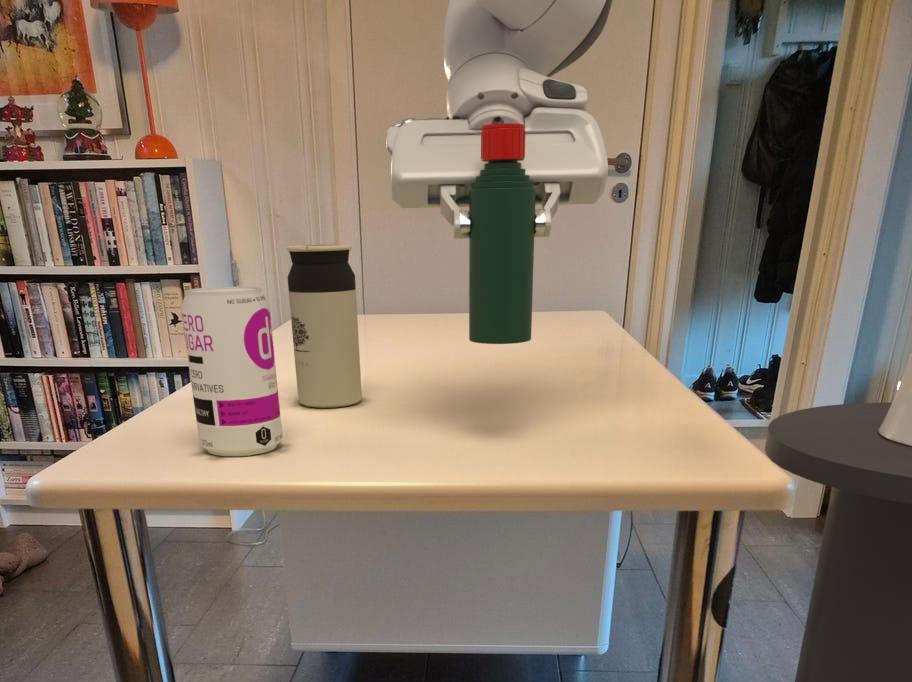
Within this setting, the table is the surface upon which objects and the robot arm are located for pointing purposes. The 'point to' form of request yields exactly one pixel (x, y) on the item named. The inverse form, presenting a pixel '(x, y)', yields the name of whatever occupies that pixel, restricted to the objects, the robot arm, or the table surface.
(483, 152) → the cap
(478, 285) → the bottle
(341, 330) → the travel mug
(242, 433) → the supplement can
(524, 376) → the table surface
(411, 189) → the robot arm
